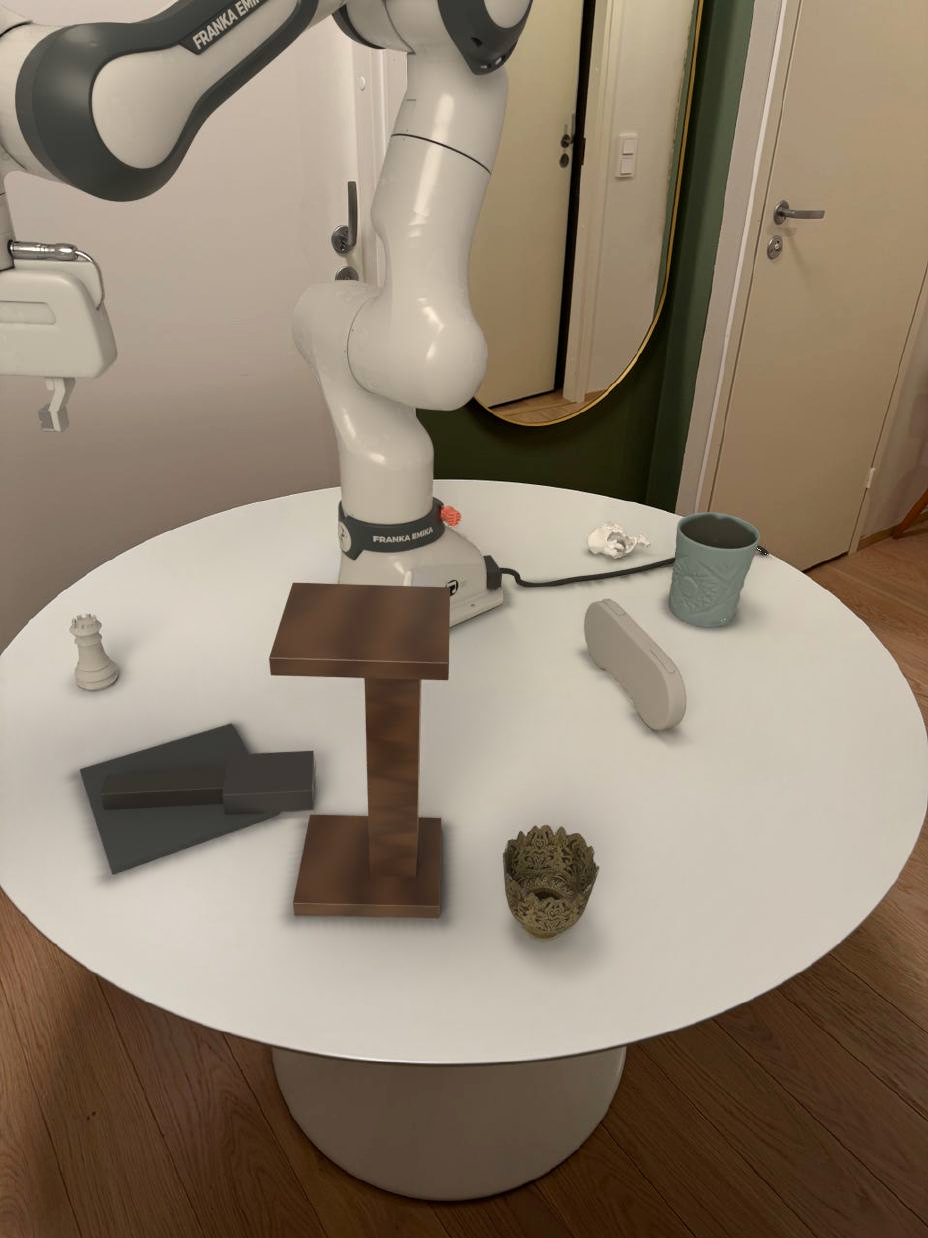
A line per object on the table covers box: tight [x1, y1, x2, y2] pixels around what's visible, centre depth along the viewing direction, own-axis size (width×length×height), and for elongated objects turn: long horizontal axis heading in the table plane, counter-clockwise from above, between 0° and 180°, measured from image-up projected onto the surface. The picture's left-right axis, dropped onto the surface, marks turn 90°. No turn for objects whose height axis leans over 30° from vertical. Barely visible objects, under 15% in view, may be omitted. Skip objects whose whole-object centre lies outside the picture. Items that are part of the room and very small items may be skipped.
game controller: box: [583, 598, 687, 731], centre depth 98 cm, size 20×2×8 cm, turn 20°
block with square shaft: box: [100, 750, 316, 815], centre depth 81 cm, size 19×6×2 cm, turn 97°
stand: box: [268, 582, 451, 919], centre depth 69 cm, size 12×10×26 cm
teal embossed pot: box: [667, 511, 761, 628], centre depth 112 cm, size 10×10×12 cm
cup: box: [502, 824, 600, 941], centre depth 70 cm, size 8×7×8 cm
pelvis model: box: [586, 522, 651, 560], centre depth 127 cm, size 8×4×7 cm
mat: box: [79, 722, 280, 875], centre depth 83 cm, size 15×14×1 cm
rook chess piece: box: [68, 613, 119, 691], centre depth 95 cm, size 4×4×8 cm
